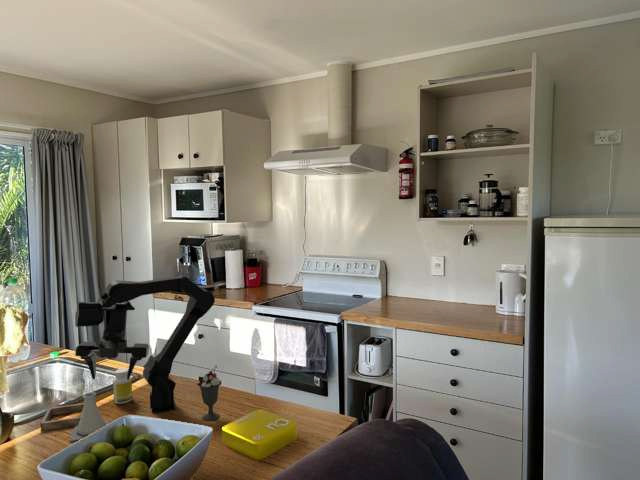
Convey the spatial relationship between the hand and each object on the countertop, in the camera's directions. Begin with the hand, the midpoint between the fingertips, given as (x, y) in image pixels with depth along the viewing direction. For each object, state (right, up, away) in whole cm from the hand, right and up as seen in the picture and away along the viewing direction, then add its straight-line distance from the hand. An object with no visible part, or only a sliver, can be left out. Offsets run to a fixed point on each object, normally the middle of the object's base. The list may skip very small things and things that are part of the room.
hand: (111, 379), depth 136 cm
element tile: (+44, -13, -12) cm, 48 cm away
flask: (-3, -12, -6) cm, 14 cm away
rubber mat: (-3, -13, -6) cm, 14 cm away
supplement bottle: (-2, -11, +14) cm, 18 cm away
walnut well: (-14, -12, +2) cm, 19 cm away
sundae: (+28, -12, +1) cm, 31 cm away
